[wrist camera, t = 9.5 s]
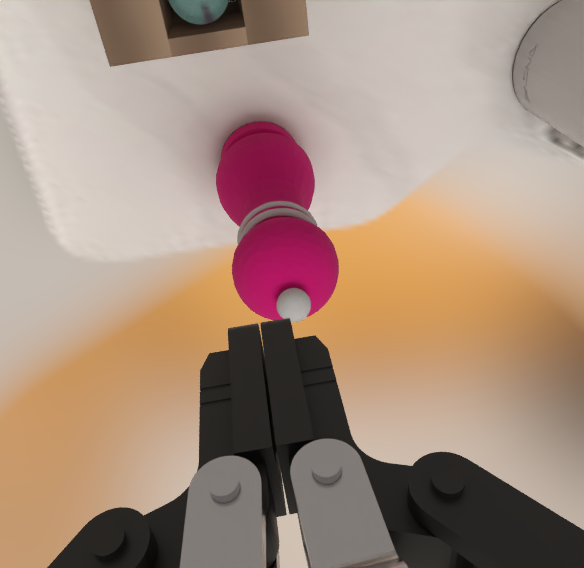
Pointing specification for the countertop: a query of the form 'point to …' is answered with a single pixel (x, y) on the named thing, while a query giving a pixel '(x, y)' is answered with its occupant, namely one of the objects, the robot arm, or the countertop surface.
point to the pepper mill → (275, 224)
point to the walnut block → (191, 27)
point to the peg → (199, 10)
